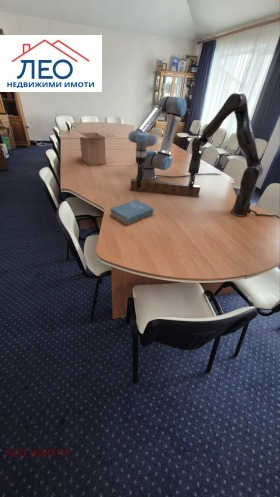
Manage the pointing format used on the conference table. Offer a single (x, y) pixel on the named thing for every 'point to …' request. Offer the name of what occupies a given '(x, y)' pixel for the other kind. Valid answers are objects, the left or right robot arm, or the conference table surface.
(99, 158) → the box
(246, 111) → the right robot arm
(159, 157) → the left robot arm
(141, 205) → the book
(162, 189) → the beam
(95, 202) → the conference table surface
